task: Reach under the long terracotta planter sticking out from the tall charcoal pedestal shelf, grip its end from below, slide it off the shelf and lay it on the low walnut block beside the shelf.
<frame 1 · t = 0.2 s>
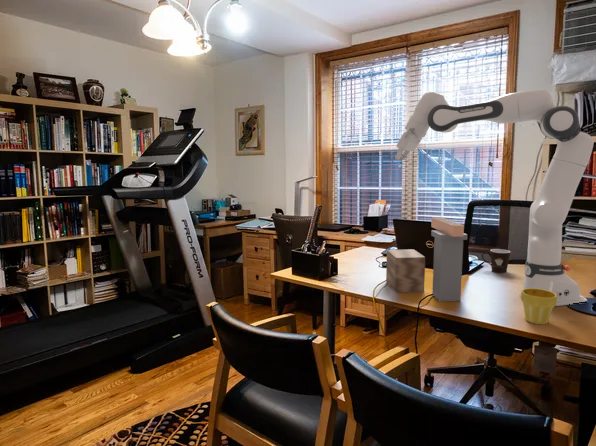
hand: (399, 159, 179), 54 cm above the table, tool tilted 30°, fingers open, 8 cm apart
pedestal shelf: (446, 297, 164), on the table
coffee mug: (496, 271, 202), on the table
plant pot: (536, 321, 140), on the table
walnut block: (404, 286, 179), on the table
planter: (446, 231, 162), point 26 cm above the table, touching pedestal shelf
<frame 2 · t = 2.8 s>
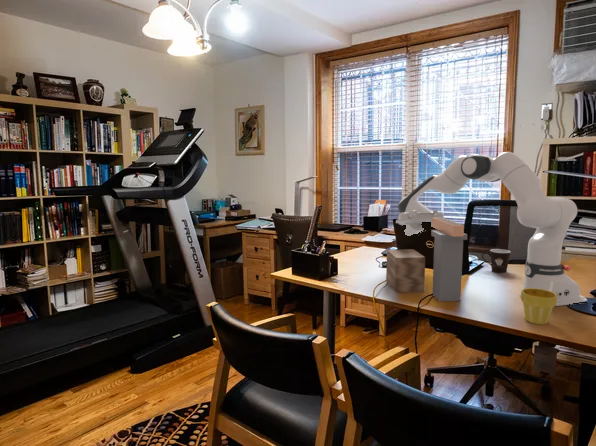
hand: (425, 211, 185), 31 cm above the table, tool pointing upward, fingers open, 8 cm apart
nothing on the table moved.
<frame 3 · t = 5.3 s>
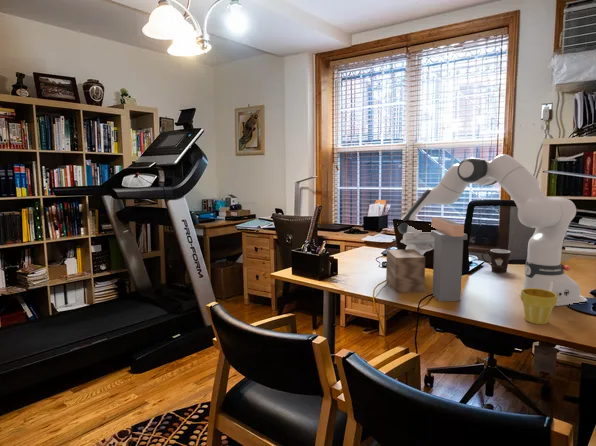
hand: (431, 231, 179), 23 cm above the table, tool pointing upward, fingers open, 8 cm apart
nothing on the table moved.
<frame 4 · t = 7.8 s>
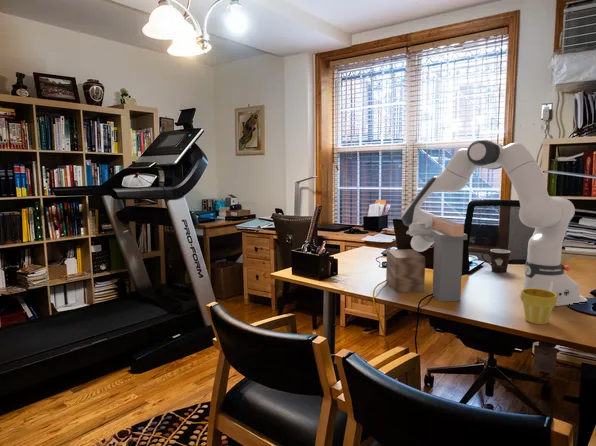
hand: (439, 222, 170), 28 cm above the table, tool pointing upward, fingers closed on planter, 4 cm apart
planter: (446, 231, 162), point 26 cm above the table, touching gripper, pedestal shelf
everything else where it was.
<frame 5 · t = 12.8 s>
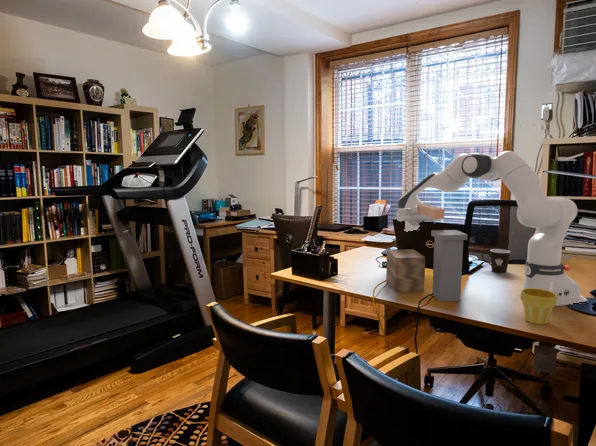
hand: (423, 207, 185), 33 cm above the table, tool pointing upward, fingers closed on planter, 4 cm apart
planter: (429, 215, 178), point 30 cm above the table, touching gripper
everything else where it was.
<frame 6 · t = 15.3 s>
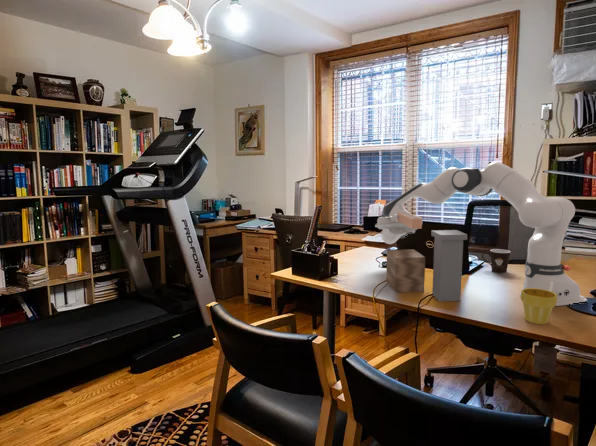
hand: (403, 216, 185), 29 cm above the table, tool pointing upward, fingers closed on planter, 4 cm apart
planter: (408, 224, 178), point 26 cm above the table, touching gripper
everything else where it was.
when the fingers open (19 cm above the table, at t = 17.7 s): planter drops 2 cm, resting on walnut block.
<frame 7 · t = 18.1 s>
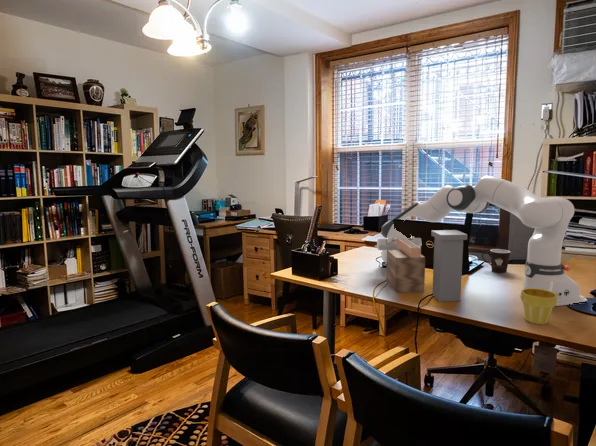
hand: (403, 238, 186), 19 cm above the table, tool pointing upward, fingers open, 8 cm apart
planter: (407, 251, 180), point 14 cm above the table, touching walnut block
everything else where it was.
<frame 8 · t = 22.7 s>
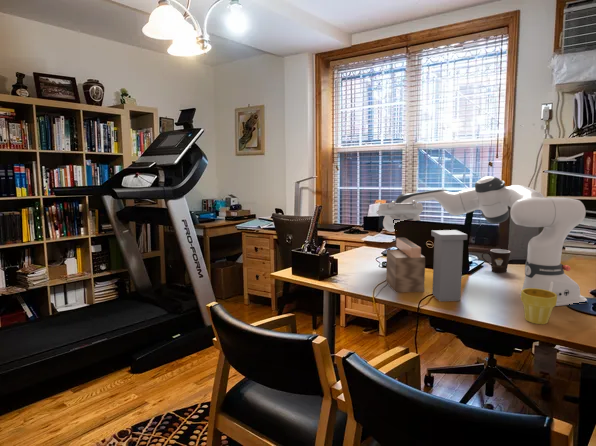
hand: (404, 202, 190), 34 cm above the table, tool pointing upward, fingers open, 8 cm apart
nothing on the table moved.
at the end: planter inside the target area on the walnut block (2.9 cm from its centre), point 14.5 cm above the walnut block's base; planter tilted 0°; the gripper is holding nothing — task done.
